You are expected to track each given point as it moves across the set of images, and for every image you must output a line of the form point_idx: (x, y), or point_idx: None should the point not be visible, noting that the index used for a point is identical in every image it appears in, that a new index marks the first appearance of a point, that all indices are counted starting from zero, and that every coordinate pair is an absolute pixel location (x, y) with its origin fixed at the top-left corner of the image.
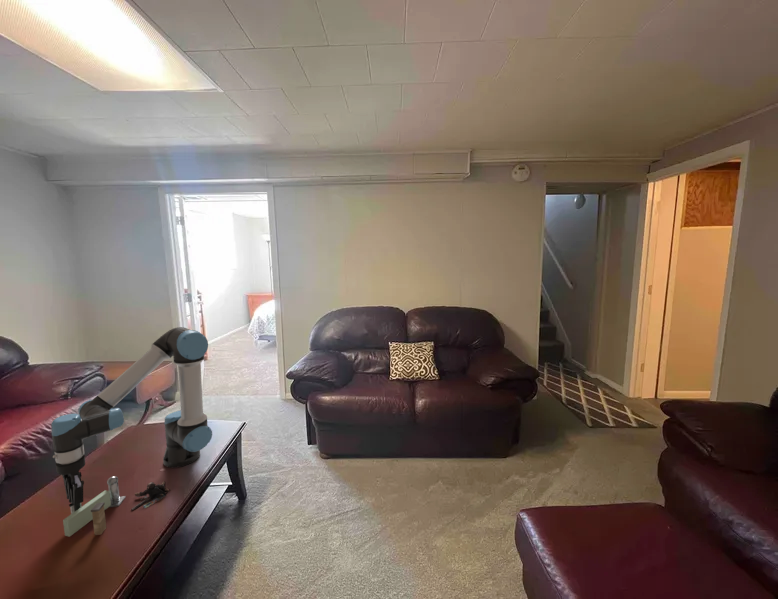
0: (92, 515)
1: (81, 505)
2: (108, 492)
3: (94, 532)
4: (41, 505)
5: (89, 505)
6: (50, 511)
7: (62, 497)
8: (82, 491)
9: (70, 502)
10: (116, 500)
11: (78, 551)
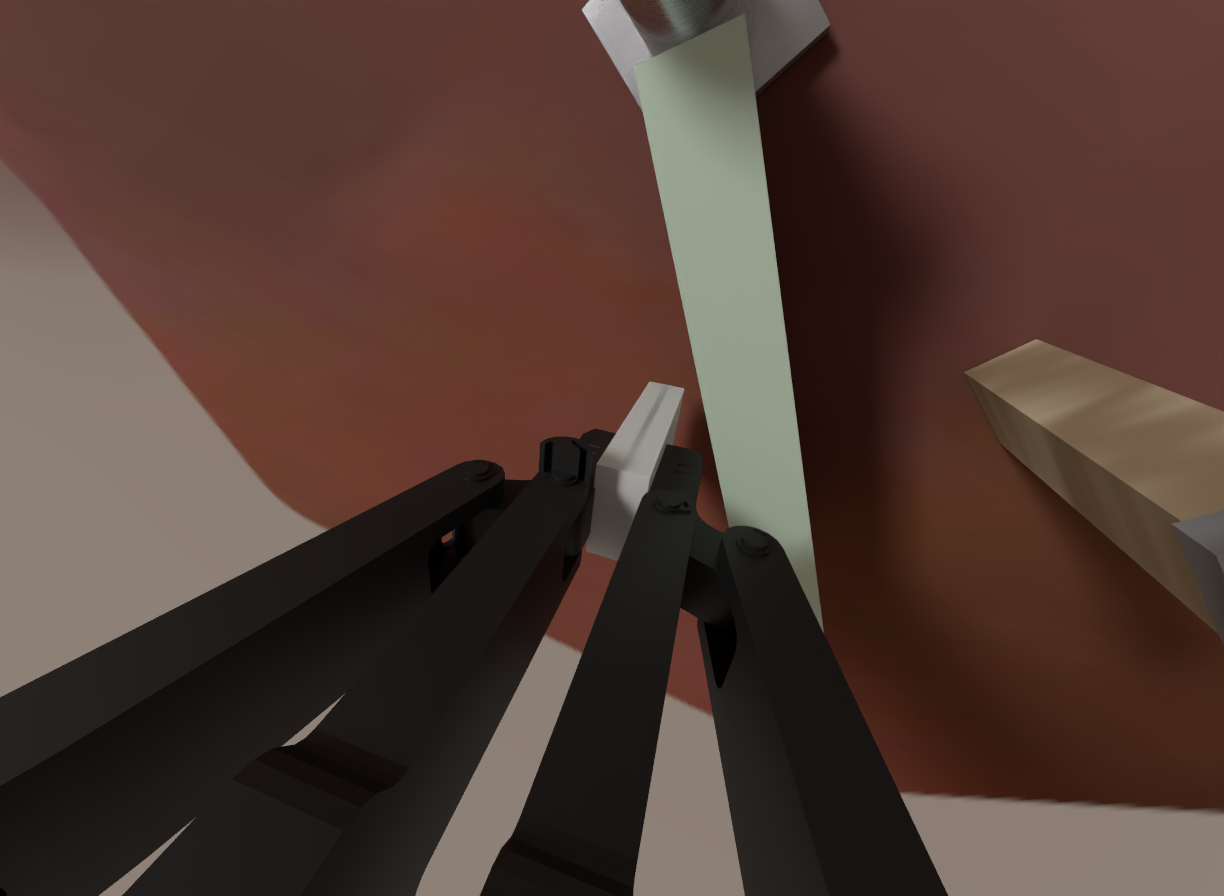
0: (1177, 596)
1: (664, 443)
2: (749, 52)
3: (1016, 456)
4: (251, 379)
5: (796, 426)
6: (354, 392)
7: (235, 272)
8: (912, 852)
9: (580, 554)
10: (752, 2)
11: (1028, 585)
